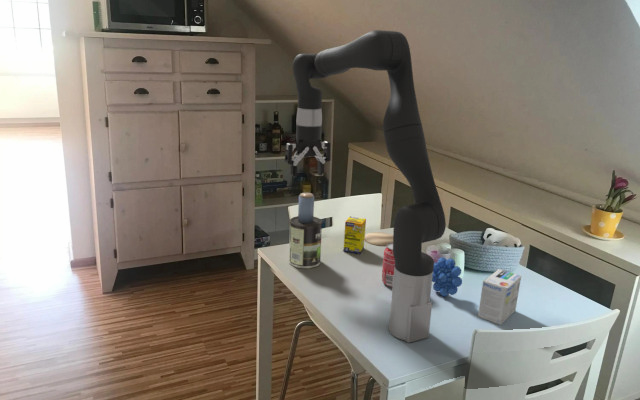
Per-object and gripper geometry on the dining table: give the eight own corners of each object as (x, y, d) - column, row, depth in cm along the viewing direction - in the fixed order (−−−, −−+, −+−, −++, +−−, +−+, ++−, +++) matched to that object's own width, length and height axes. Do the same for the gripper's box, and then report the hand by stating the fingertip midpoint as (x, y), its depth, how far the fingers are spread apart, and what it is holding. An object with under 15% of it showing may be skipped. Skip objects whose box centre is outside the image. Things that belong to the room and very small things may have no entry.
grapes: (469, 301, 150) (474, 262, 146) (452, 306, 147) (457, 266, 143) (440, 284, 159) (444, 247, 156) (423, 289, 156) (427, 251, 152)
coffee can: (322, 257, 175) (324, 216, 171) (317, 270, 166) (319, 227, 162) (292, 254, 177) (293, 214, 173) (285, 266, 167) (286, 224, 163)
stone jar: (315, 222, 166) (317, 195, 164) (301, 224, 164) (302, 197, 161) (309, 217, 170) (310, 191, 168) (295, 219, 168) (296, 193, 166)
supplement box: (343, 251, 181) (344, 221, 177) (347, 245, 186) (349, 216, 183) (360, 254, 179) (362, 223, 176) (364, 248, 185) (366, 218, 181)
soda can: (404, 279, 162) (408, 242, 158) (405, 289, 155) (409, 251, 152) (381, 277, 162) (384, 240, 159) (381, 287, 156) (384, 249, 152)
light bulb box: (492, 302, 150) (498, 267, 147) (516, 311, 146) (522, 275, 143) (476, 316, 142) (482, 280, 139) (501, 326, 138) (507, 288, 135)
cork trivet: (403, 243, 191) (403, 241, 190) (375, 247, 185) (375, 246, 185) (385, 231, 201) (385, 230, 201) (357, 235, 195) (357, 234, 195)
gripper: (292, 126, 152) (290, 181, 157) (336, 124, 158) (333, 177, 163) (282, 122, 158) (281, 175, 163) (324, 120, 165) (322, 171, 169)
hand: (307, 176), depth 163 cm, fingers open, 8 cm apart
